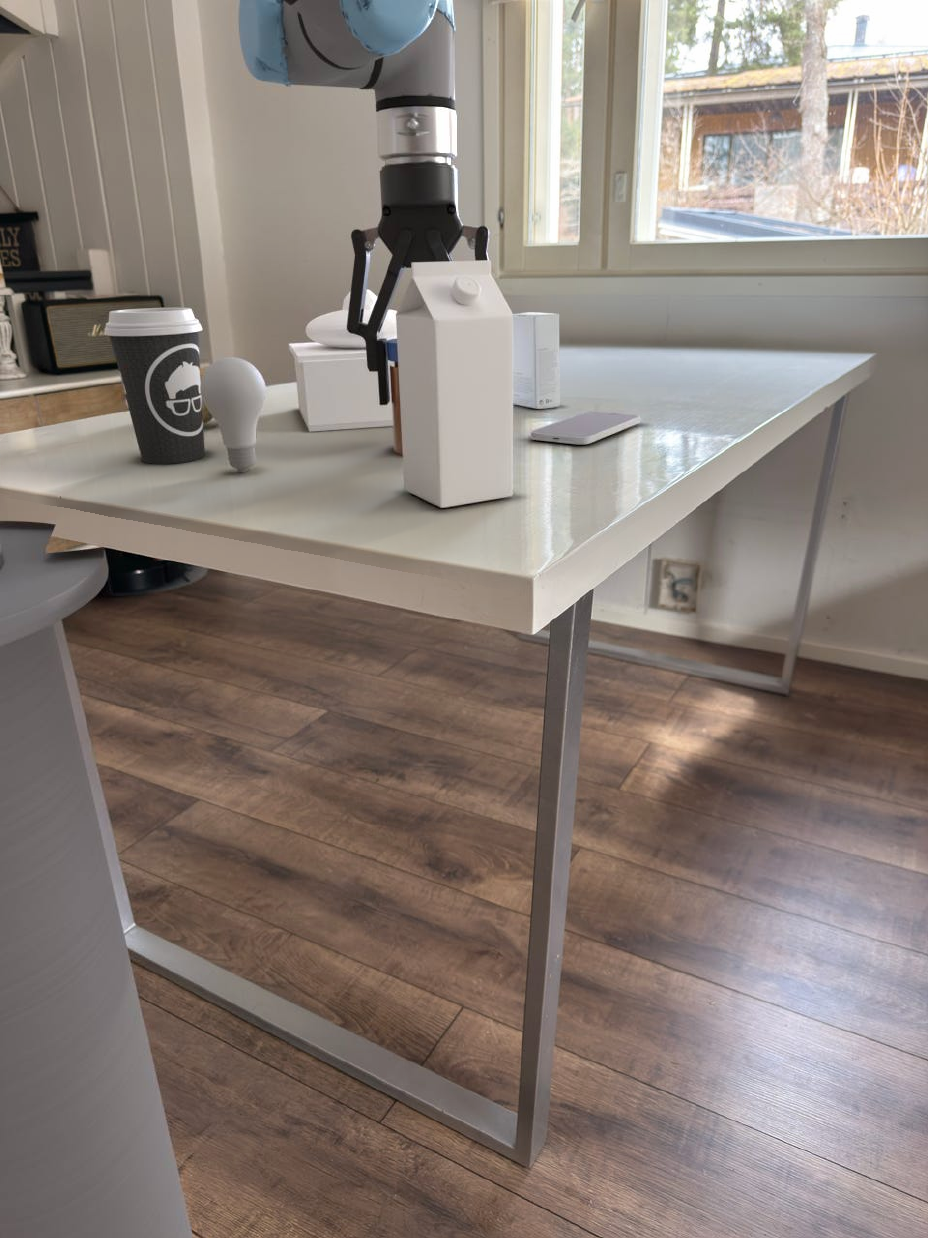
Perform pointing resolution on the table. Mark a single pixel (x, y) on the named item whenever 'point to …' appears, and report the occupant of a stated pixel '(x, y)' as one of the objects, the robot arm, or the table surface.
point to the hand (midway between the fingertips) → (427, 402)
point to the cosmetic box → (536, 360)
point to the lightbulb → (235, 406)
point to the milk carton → (456, 384)
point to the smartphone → (585, 427)
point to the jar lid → (392, 350)
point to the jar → (396, 407)
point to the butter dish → (340, 373)
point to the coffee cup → (161, 380)
